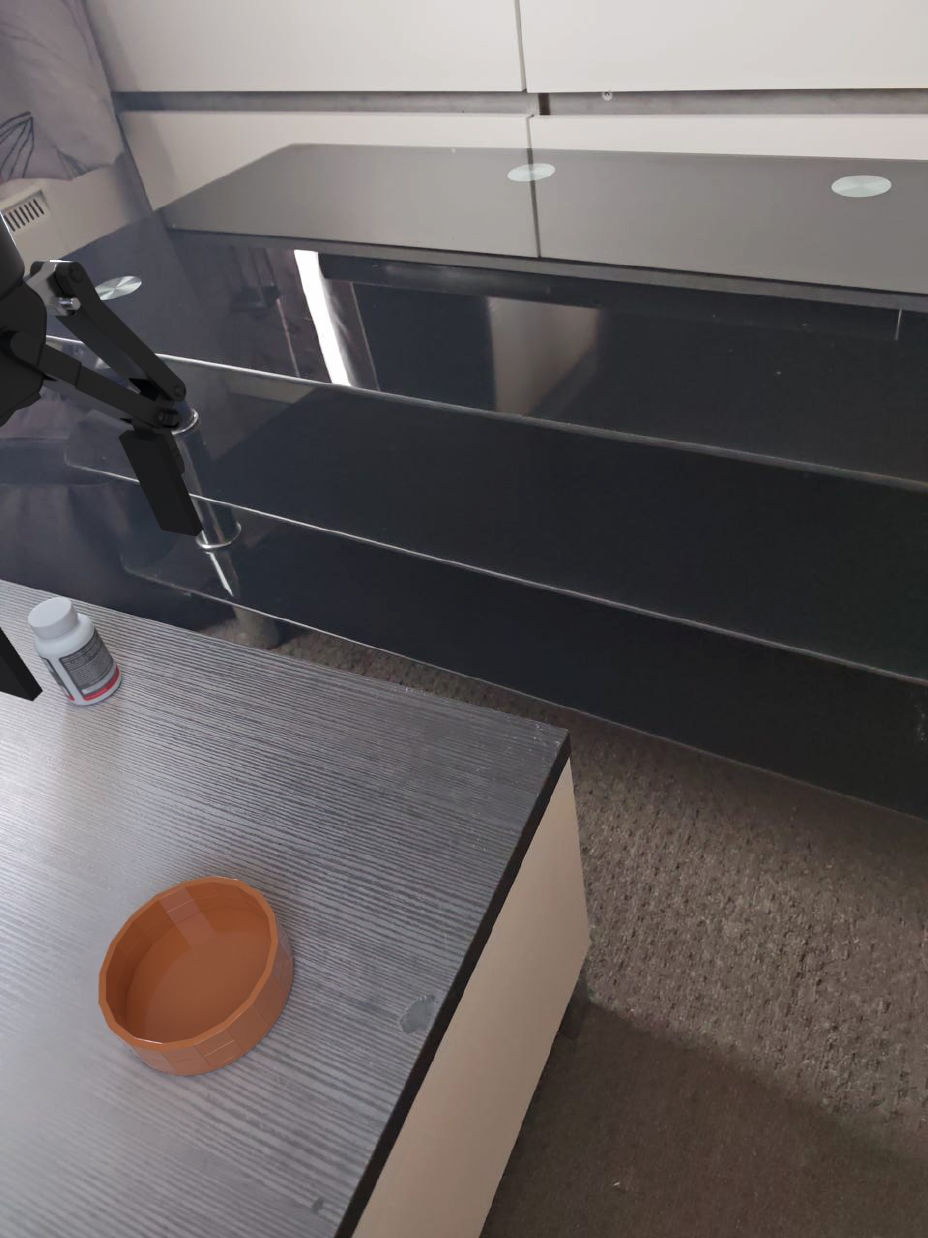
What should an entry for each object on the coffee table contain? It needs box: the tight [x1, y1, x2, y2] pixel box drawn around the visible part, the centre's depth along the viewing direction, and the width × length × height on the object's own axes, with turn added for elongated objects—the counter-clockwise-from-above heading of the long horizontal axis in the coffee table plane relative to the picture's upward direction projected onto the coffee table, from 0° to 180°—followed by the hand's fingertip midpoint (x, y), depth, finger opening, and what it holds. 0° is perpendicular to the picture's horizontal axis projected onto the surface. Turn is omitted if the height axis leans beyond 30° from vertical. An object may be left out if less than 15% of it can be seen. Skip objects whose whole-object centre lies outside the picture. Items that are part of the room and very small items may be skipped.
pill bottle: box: [27, 596, 122, 706], centre depth 85 cm, size 5×5×10 cm
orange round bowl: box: [97, 875, 295, 1077], centre depth 62 cm, size 12×12×4 cm
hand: (108, 603), depth 51 cm, fingers open, 13 cm apart
